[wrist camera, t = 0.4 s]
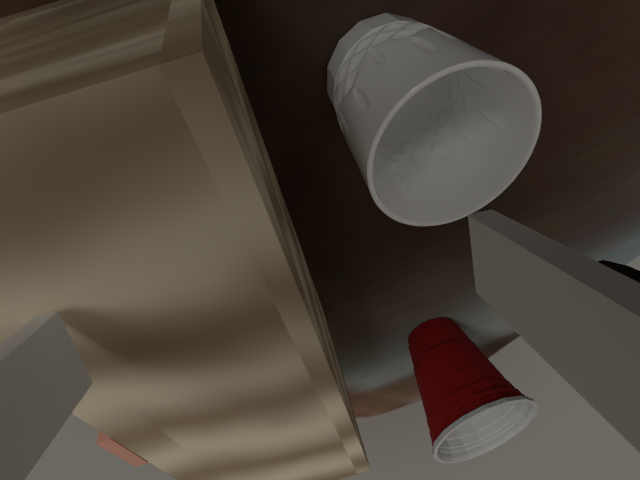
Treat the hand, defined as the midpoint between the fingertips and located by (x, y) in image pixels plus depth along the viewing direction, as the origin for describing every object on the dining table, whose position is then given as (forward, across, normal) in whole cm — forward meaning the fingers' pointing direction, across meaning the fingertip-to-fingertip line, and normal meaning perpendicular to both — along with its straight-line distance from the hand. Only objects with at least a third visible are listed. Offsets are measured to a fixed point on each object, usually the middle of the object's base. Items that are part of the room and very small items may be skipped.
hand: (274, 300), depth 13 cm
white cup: (+15, +8, +6) cm, 18 cm away
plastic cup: (+28, +12, -22) cm, 37 cm away
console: (+17, -5, -1) cm, 18 cm away
